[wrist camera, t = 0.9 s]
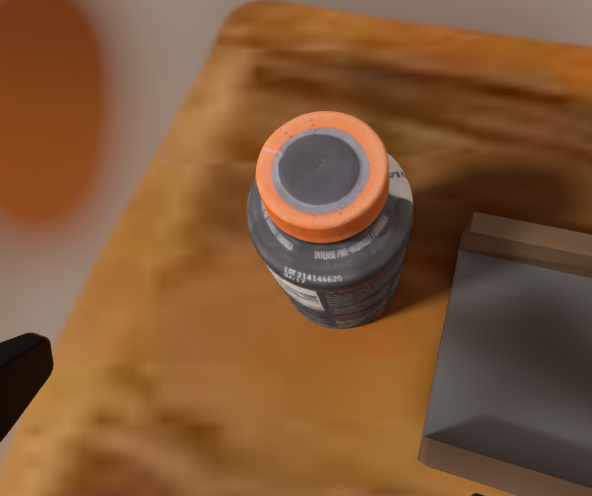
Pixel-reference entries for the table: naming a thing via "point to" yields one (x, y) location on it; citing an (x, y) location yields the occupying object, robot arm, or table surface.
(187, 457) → the table surface
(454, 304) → the box
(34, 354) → the robot arm
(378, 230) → the pill bottle
